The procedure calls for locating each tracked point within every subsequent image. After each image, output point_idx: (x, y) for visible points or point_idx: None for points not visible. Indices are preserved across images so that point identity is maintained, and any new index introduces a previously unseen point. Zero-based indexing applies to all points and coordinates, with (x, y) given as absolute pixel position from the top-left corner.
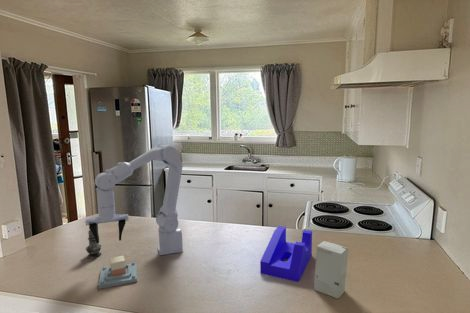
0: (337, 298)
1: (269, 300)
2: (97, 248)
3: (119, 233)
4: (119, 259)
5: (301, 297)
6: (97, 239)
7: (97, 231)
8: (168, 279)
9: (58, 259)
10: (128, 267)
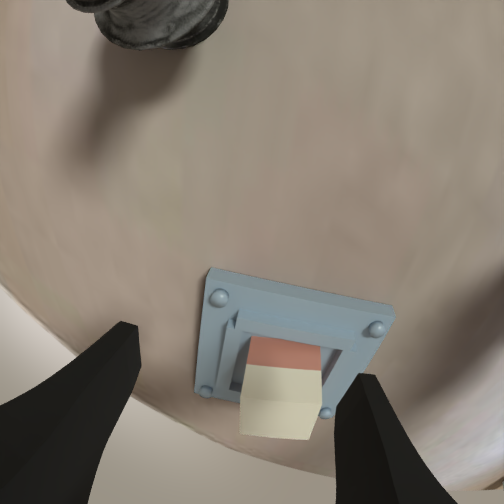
0: (502, 482)
1: (463, 482)
2: (177, 33)
3: (340, 486)
4: (286, 425)
5: (489, 479)
6: (118, 405)
7: (81, 452)
8: (414, 423)
9: (13, 10)
10: (334, 368)
